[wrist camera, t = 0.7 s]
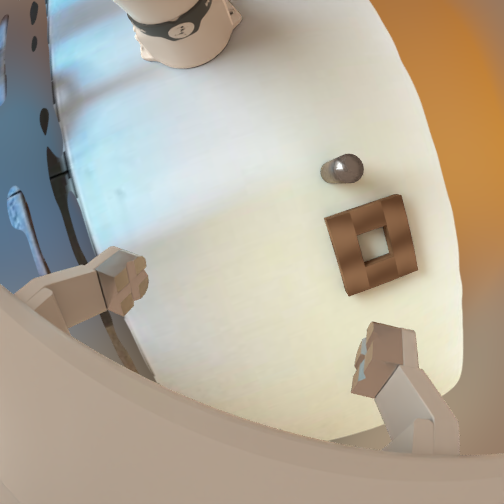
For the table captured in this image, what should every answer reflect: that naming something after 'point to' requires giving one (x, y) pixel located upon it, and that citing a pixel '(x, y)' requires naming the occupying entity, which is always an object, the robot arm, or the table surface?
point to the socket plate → (348, 250)
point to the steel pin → (342, 169)
